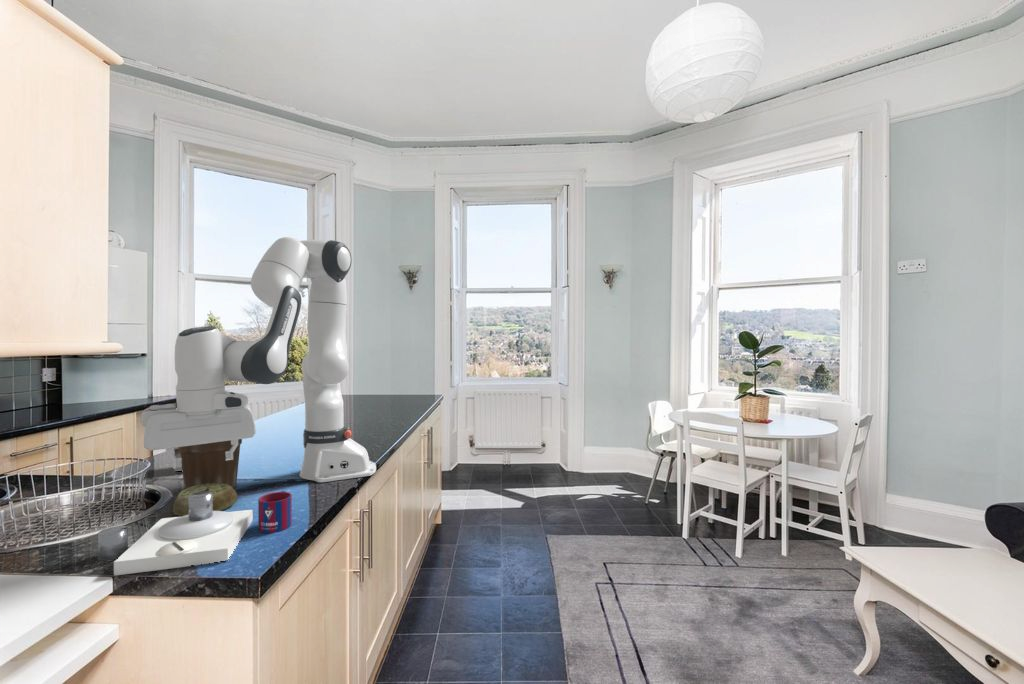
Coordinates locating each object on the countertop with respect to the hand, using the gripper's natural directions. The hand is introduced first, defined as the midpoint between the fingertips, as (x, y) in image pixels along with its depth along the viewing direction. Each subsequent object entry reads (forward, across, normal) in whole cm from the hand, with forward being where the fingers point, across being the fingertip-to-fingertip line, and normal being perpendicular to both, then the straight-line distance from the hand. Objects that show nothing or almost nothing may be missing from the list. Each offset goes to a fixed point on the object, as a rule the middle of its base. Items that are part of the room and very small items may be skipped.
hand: (204, 463), depth 100 cm
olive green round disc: (+16, -1, +16) cm, 23 cm away
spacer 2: (+12, -1, 0) cm, 12 cm away
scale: (+15, -2, -6) cm, 16 cm away
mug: (+16, +14, -4) cm, 21 cm away
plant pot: (+15, 0, +32) cm, 35 cm away
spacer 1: (+15, -15, -4) cm, 22 cm away
